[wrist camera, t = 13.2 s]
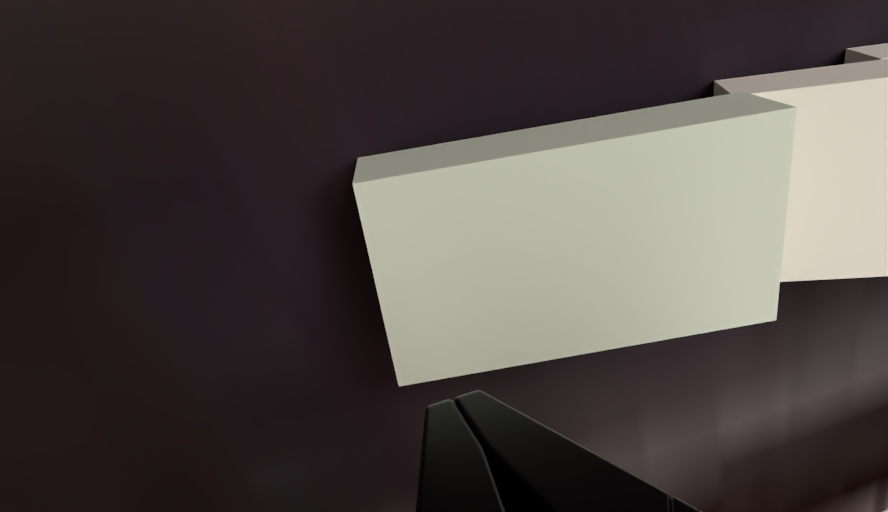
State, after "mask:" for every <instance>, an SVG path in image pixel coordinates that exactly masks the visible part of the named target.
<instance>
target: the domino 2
mask: <svg viewBox="0 0 888 512" xmlns="http://www.w3.org/2000/svg"><path fill="white" fill-rule="evenodd" d="M737 92H746V93H750V94H753V95H756V96H760V97H763V98H767V99H770V100H774V101H777V102H781V103H784V104H788V105H791V106H795V107H797V108H796V119H795V129H794V140H793V150H792V161H791V171H790V182H789V192H788V203H787V213H786V224H785V235H784V245H783V256H782V266H781V277H780V282H789V281H807V280H826V279H845V278H863V277H882V276H888V59H881V60H873V61H865V62H857V63H849V64H841V65H833V66H825V67H818V68H810V69H802V70H794V71H786V72H778V73H770V74H763V75H755V76H747V77H739V78H731V79H723V80H715V81H714V96H720V95H726V94H731V93H737Z"/></svg>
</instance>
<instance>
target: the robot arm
mask: <svg viewBox="0 0 888 512" xmlns="http://www.w3.org/2000/svg"><path fill="white" fill-rule="evenodd" d="M416 512H702V511H700V510H698V509H697V508H695V507H693V506H691V505H689V504H688V503H686V502H684V501H682V500H680V499H678V498H677V497H671V498H670V495H669V494H668V493H667V492H665V491H663V490H662V489H660V488H658V487H656V486H654V485H652V484H651V483H649V482H647V481H645V480H643V479H641V478H640V477H638V476H636V475H634V474H632V473H630V472H629V471H627V470H625V469H623V468H621V467H620V466H618V465H616V464H614V463H612V462H610V461H609V460H607V459H605V458H603V457H601V456H599V455H598V454H596V453H594V452H592V451H590V450H589V449H587V448H585V447H583V446H581V445H579V444H578V443H576V442H574V441H572V440H570V439H568V438H567V437H565V436H563V435H561V434H559V433H557V432H556V431H554V430H552V429H550V428H548V427H547V426H545V425H543V424H541V423H539V422H537V421H536V420H534V419H532V418H530V417H528V416H526V415H525V414H523V413H521V412H519V411H517V410H516V409H514V408H512V407H510V406H508V405H506V404H505V403H503V402H501V401H499V400H497V399H495V398H494V397H492V396H490V395H488V394H486V393H485V392H483V391H479V390H476V391H473V392H470V393H466V394H463V395H460V396H457V397H456V398H455V399H454V401H453V400H450V399H448V400H444V401H441V402H438V403H435V404H432V405H429V406H428V407H427V408H426V411H425V421H424V431H423V441H422V451H421V461H420V472H419V482H418V492H417V502H416Z"/></svg>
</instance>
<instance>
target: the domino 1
mask: <svg viewBox="0 0 888 512" xmlns="http://www.w3.org/2000/svg"><path fill="white" fill-rule="evenodd" d="M796 108H797V107H795V106H791V105H788V104H784V103H781V102H777V101H774V100H770V99H767V98H763V97H760V96H756V95H753V94H750V93H746V92H737V93H731V94H726V95H720V96H714V97H708V98H702V99H697V100H691V101H685V102H679V103H673V104H667V105H662V106H656V107H650V108H644V109H638V110H633V111H627V112H621V113H615V114H609V115H604V116H598V117H592V118H586V119H580V120H575V121H569V122H563V123H557V124H551V125H545V126H540V127H534V128H528V129H522V130H516V131H511V132H505V133H499V134H493V135H487V136H482V137H476V138H470V139H464V140H458V141H453V142H447V143H441V144H435V145H429V146H424V147H418V148H412V149H406V150H400V151H394V152H389V153H383V154H377V155H371V156H365V157H360V158H358V159H357V164H356V169H355V173H354V178H353V183H352V184H353V189H354V193H355V197H356V202H357V206H358V211H359V215H360V219H361V224H362V228H363V232H364V237H365V241H366V246H367V250H368V254H369V259H370V263H371V268H372V272H373V276H374V281H375V285H376V289H377V294H378V298H379V303H380V307H381V311H382V316H383V320H384V324H385V329H386V333H387V338H388V342H389V346H390V351H391V355H392V359H393V364H394V368H395V373H396V377H397V381H398V386H405V385H411V384H416V383H422V382H428V381H433V380H439V379H445V378H450V377H456V376H462V375H467V374H473V373H479V372H484V371H490V370H496V369H502V368H507V367H513V366H519V365H524V364H530V363H536V362H541V361H547V360H553V359H558V358H564V357H570V356H575V355H581V354H587V353H593V352H598V351H604V350H610V349H615V348H621V347H627V346H632V345H638V344H644V343H649V342H655V341H661V340H666V339H672V338H678V337H684V336H689V335H695V334H701V333H706V332H712V331H718V330H723V329H729V328H735V327H740V326H746V325H752V324H757V323H763V322H769V321H775V320H776V319H777V308H778V298H779V287H780V277H781V266H782V256H783V245H784V235H785V224H786V213H787V203H788V192H789V182H790V171H791V161H792V150H793V140H794V129H795V119H796Z"/></svg>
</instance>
